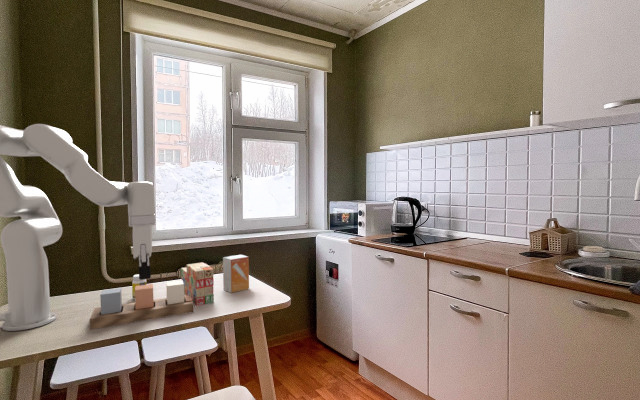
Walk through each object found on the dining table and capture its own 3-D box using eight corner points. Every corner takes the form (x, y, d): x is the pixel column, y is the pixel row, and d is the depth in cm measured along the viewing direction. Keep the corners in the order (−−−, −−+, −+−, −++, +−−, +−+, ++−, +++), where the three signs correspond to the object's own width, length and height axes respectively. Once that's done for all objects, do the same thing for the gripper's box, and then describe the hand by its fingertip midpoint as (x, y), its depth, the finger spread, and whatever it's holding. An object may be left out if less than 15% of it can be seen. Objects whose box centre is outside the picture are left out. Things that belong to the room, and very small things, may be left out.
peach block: (135, 309, 105) (134, 290, 105) (136, 304, 109) (135, 286, 109) (153, 306, 107) (153, 287, 107) (153, 302, 111) (152, 283, 111)
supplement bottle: (140, 300, 123) (140, 277, 123) (129, 299, 124) (128, 276, 124) (149, 296, 128) (149, 273, 127) (138, 295, 129) (138, 273, 128)
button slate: (101, 314, 101) (100, 294, 101) (103, 309, 105) (102, 290, 105) (120, 311, 103) (119, 292, 103) (121, 306, 107) (121, 287, 107)
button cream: (167, 304, 109) (166, 286, 109) (166, 300, 113) (166, 282, 113) (184, 302, 111) (183, 283, 111) (182, 297, 115) (182, 280, 115)
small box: (231, 293, 129) (230, 259, 129) (223, 289, 134) (222, 257, 134) (249, 288, 135) (249, 256, 135) (241, 285, 140) (240, 254, 139)
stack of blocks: (181, 291, 134) (180, 260, 133) (197, 288, 137) (197, 258, 137) (195, 306, 116) (195, 270, 115) (214, 302, 119) (213, 268, 119)
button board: (90, 329, 98) (89, 317, 97) (95, 317, 106) (94, 306, 106) (193, 312, 110) (193, 301, 110) (190, 303, 119) (190, 293, 119)
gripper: (130, 219, 112) (132, 275, 113) (127, 223, 99) (130, 286, 99) (155, 218, 115) (157, 271, 116) (155, 222, 102) (158, 282, 103)
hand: (145, 278), depth 108 cm, fingers closed
